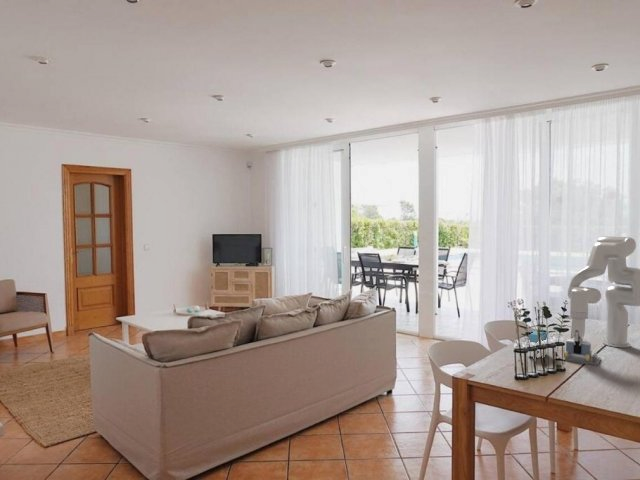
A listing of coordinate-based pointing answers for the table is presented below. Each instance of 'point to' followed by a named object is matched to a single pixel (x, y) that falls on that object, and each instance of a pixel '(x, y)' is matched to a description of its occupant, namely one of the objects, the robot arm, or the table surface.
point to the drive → (584, 347)
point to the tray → (582, 358)
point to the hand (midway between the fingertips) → (578, 351)
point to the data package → (534, 337)
